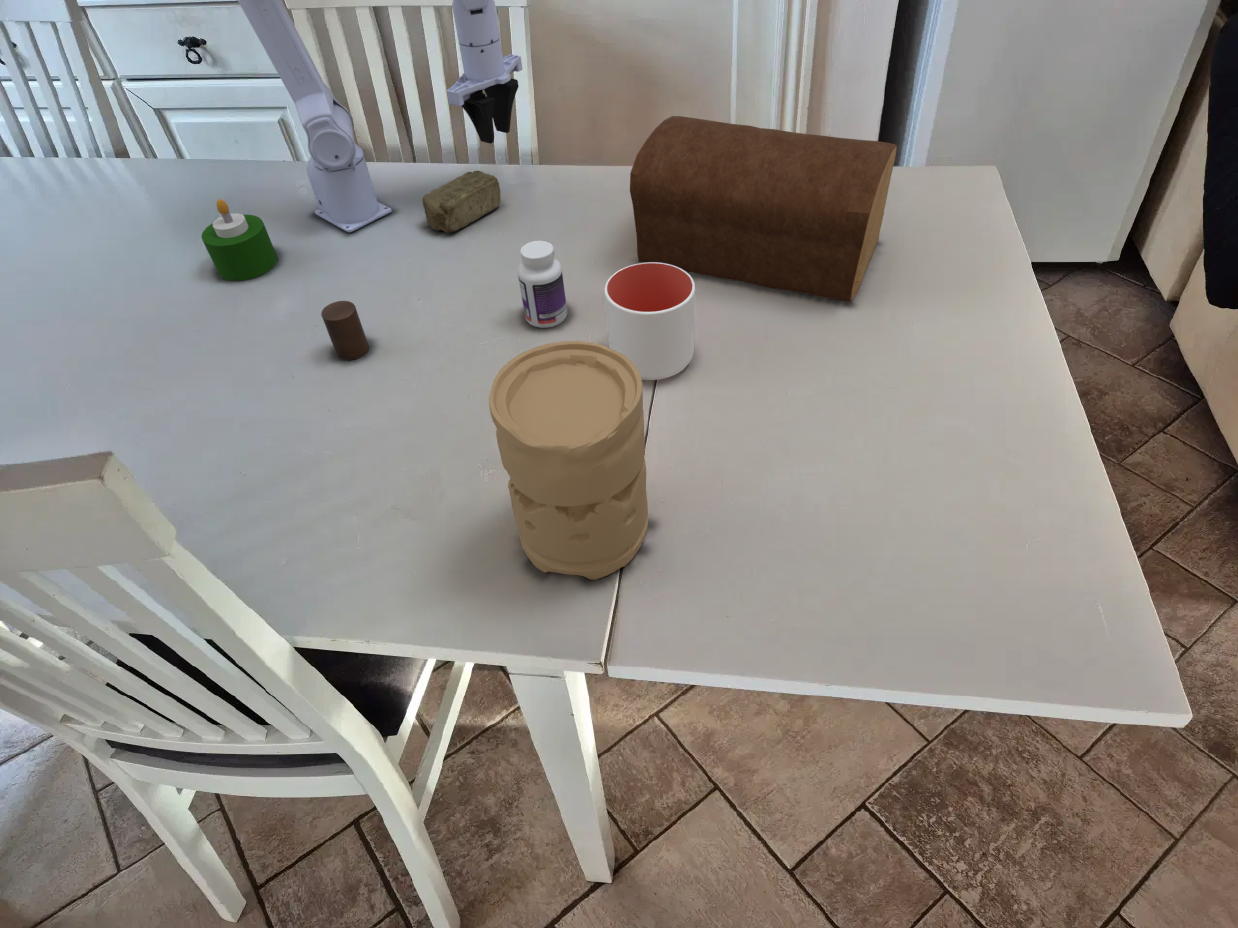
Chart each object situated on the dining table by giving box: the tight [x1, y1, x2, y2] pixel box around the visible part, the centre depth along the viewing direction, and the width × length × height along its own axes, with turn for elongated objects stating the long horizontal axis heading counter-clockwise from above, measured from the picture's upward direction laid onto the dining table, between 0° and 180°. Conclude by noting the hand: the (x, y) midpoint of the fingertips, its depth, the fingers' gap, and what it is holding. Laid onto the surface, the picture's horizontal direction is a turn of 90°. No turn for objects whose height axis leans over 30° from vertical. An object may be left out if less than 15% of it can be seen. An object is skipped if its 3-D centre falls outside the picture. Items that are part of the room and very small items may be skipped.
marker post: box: [320, 300, 370, 361], centre depth 98 cm, size 4×4×6 cm
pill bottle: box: [517, 240, 568, 329], centre depth 100 cm, size 5×5×10 cm
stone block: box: [421, 170, 502, 234], centre depth 120 cm, size 6×12×5 cm, turn 140°
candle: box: [201, 198, 278, 282], centre depth 112 cm, size 8×8×10 cm
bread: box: [629, 115, 897, 302], centre depth 105 cm, size 18×30×16 cm, turn 67°
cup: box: [603, 262, 696, 381], centre depth 93 cm, size 10×10×10 cm
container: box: [488, 340, 649, 581], centre depth 72 cm, size 13×13×18 cm
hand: (495, 136), depth 121 cm, fingers open, 3 cm apart
